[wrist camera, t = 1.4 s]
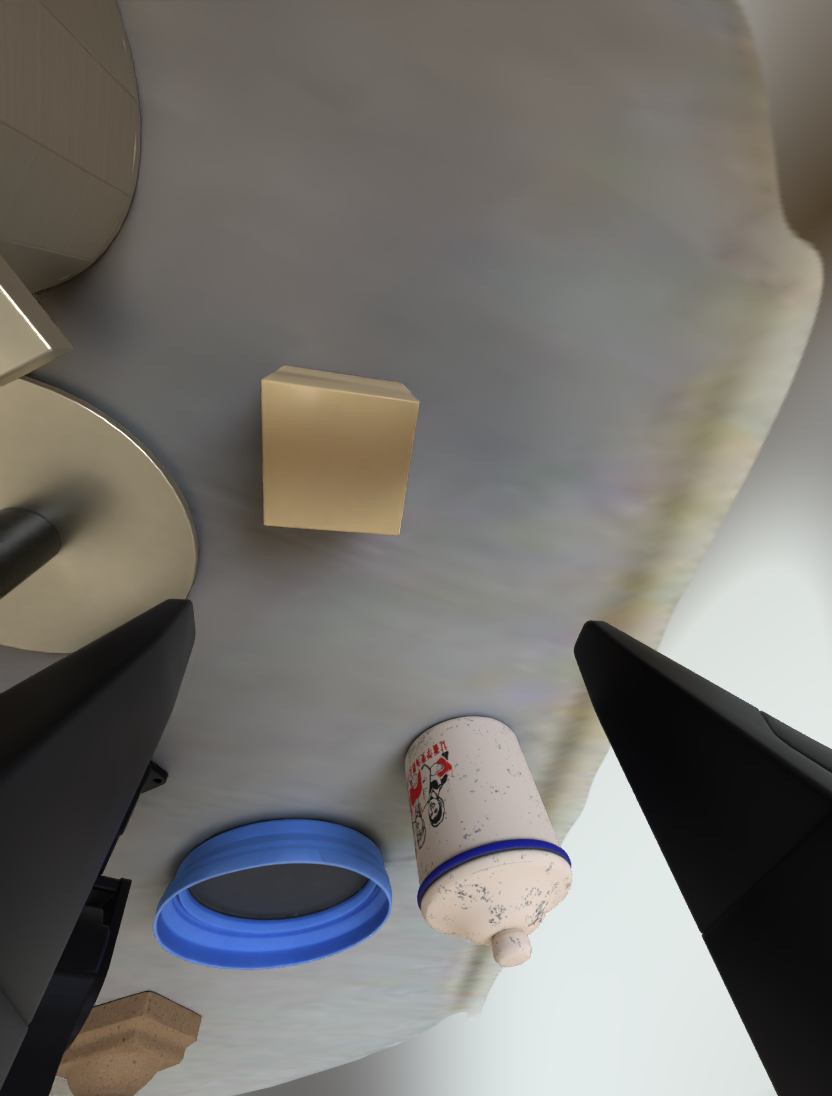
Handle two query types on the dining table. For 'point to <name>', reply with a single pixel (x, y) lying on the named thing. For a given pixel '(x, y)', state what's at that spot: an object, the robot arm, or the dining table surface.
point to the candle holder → (127, 1045)
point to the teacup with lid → (482, 837)
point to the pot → (59, 159)
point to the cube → (335, 450)
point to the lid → (82, 522)
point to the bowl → (274, 896)
